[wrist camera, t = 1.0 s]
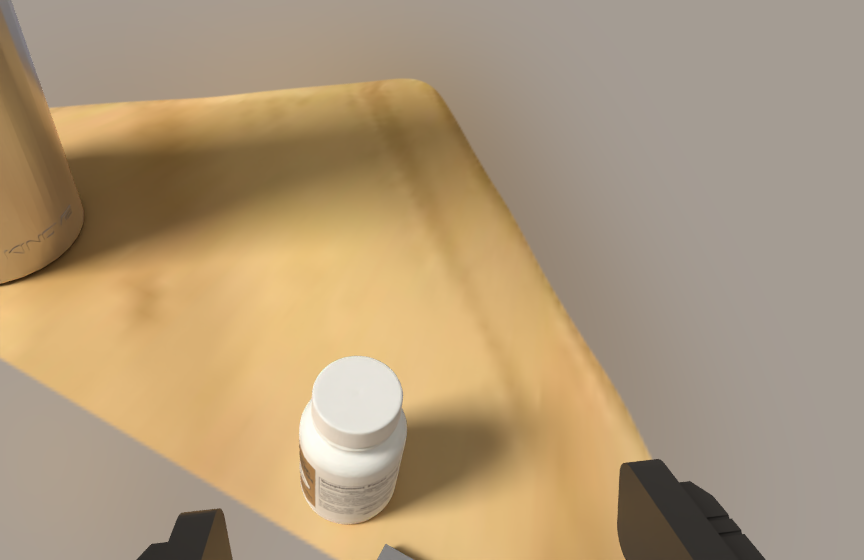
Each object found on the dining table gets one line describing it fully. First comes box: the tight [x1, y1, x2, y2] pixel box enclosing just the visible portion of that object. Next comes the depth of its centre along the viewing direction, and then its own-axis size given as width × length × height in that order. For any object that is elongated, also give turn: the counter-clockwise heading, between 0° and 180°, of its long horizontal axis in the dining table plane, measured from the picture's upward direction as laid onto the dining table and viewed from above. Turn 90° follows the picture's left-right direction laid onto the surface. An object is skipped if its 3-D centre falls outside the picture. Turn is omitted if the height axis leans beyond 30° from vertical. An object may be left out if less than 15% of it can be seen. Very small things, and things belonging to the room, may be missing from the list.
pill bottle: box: [299, 356, 407, 524], centre depth 27 cm, size 4×4×8 cm
